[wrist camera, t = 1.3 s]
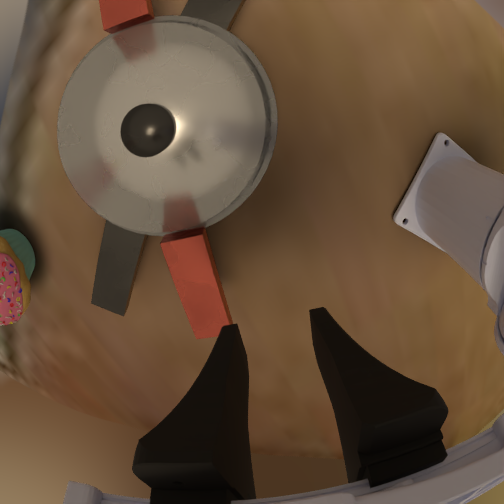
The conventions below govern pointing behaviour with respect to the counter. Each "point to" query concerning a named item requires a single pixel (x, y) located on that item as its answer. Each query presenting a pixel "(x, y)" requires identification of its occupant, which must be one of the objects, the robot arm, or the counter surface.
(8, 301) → the cupcake
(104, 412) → the counter surface
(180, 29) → the lid
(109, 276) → the pot
